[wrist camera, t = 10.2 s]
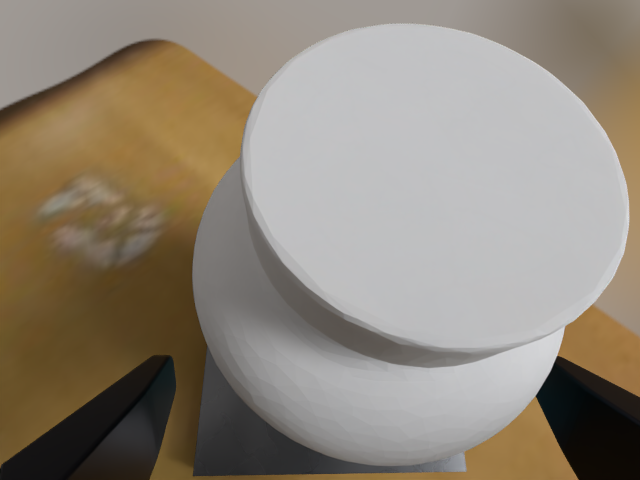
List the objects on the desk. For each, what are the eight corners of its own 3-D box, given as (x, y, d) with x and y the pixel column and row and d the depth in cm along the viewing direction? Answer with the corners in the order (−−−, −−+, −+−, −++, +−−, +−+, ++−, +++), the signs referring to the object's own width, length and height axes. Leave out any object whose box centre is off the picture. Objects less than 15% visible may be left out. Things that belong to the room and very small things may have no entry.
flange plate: (456, 467, 16) (468, 472, 15) (199, 471, 15) (191, 476, 14) (427, 235, 20) (434, 225, 19) (224, 230, 20) (220, 221, 19)
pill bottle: (441, 399, 16) (942, 384, 4) (273, 457, 15) (151, 747, 2) (380, 244, 19) (545, -65, 6) (234, 282, 17) (86, -9, 5)
